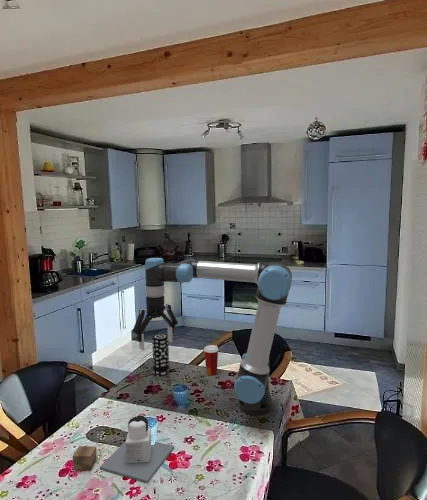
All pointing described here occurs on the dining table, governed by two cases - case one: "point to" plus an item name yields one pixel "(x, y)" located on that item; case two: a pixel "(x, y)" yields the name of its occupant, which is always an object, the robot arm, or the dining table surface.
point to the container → (138, 440)
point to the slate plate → (137, 470)
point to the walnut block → (84, 458)
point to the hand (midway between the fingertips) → (156, 345)
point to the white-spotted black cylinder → (160, 355)
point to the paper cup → (211, 359)
